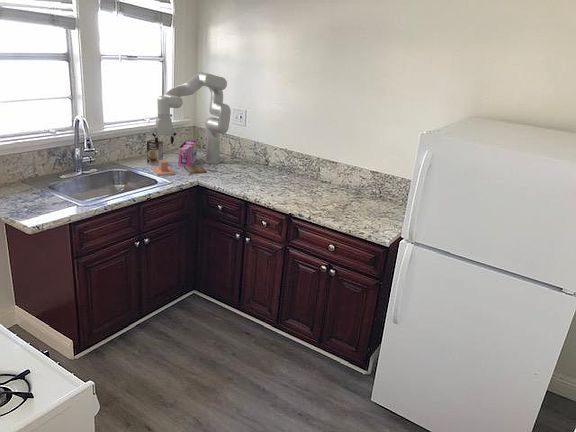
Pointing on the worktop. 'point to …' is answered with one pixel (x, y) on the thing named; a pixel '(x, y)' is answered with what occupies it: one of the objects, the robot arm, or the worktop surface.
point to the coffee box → (154, 152)
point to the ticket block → (195, 169)
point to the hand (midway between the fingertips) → (164, 143)
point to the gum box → (187, 153)
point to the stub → (163, 169)
